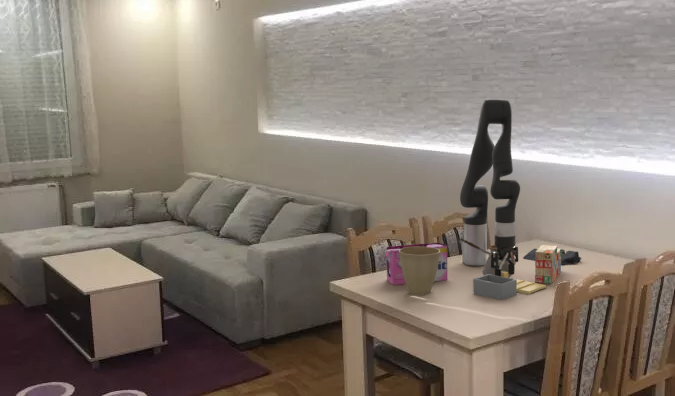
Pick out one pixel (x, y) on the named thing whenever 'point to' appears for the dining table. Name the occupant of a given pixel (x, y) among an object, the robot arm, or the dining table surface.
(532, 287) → the lid
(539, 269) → the stack of blocks
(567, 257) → the dark crumpled cloth
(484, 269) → the coffee pot
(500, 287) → the tub
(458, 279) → the dining table surface
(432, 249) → the plant pot
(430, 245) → the gum box
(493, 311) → the dining table surface
